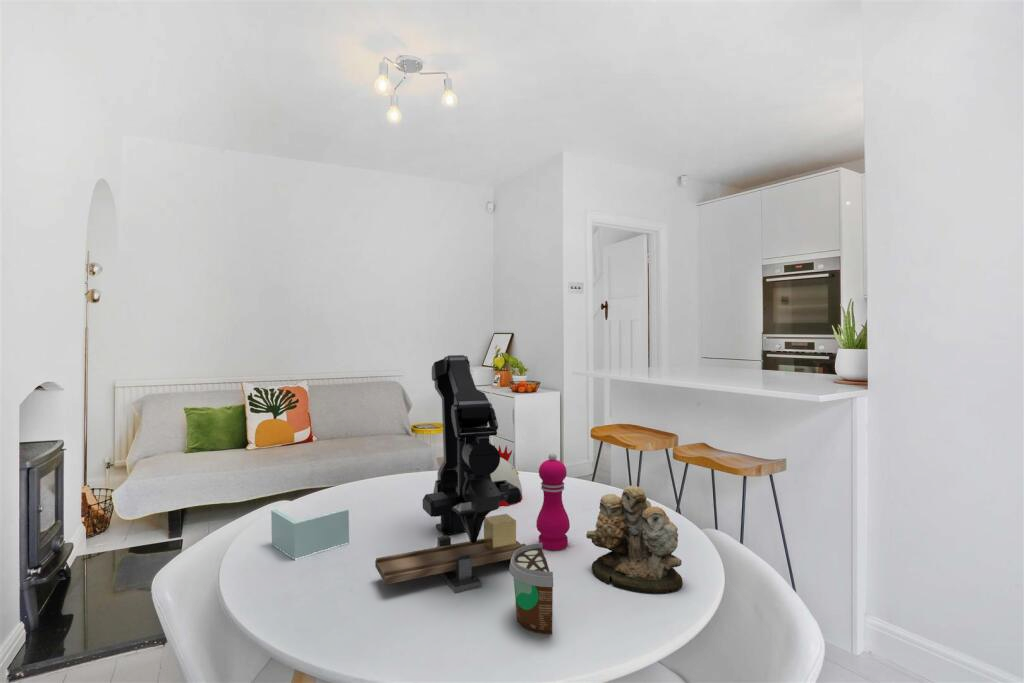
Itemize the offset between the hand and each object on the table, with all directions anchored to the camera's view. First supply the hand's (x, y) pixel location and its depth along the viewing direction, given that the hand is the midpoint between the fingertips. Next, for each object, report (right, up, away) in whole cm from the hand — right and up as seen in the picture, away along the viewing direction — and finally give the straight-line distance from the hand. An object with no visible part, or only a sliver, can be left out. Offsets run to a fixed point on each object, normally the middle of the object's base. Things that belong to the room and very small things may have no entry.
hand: (473, 542), depth 104 cm
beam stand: (+2, -5, +1) cm, 5 cm away
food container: (+10, -6, -18) cm, 22 cm away
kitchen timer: (+3, -5, +44) cm, 45 cm away
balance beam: (-4, -2, -2) cm, 5 cm away
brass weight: (+5, -2, +2) cm, 6 cm away
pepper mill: (+16, -5, +12) cm, 21 cm away
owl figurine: (+30, -5, -4) cm, 31 cm away
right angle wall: (-37, -6, +13) cm, 39 cm away
